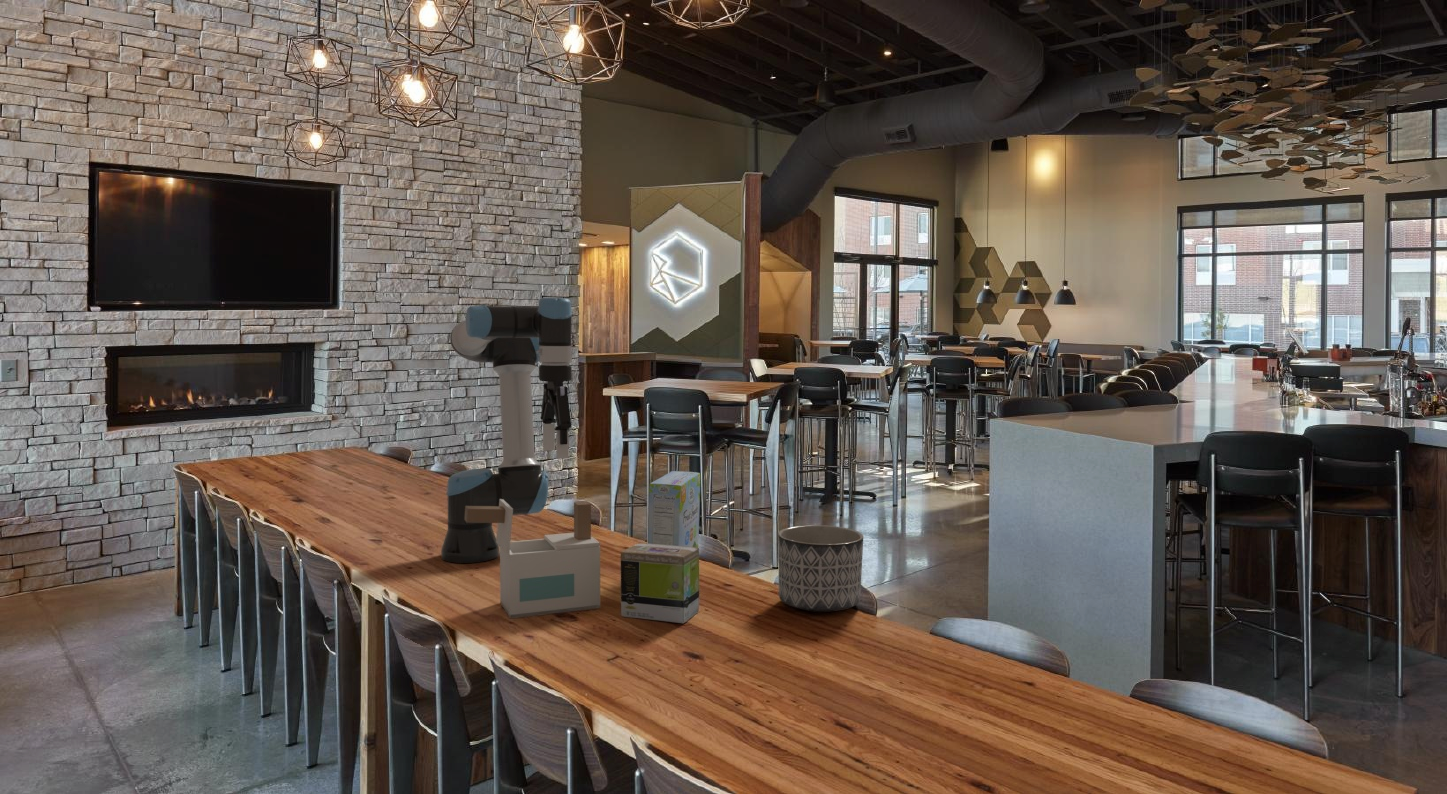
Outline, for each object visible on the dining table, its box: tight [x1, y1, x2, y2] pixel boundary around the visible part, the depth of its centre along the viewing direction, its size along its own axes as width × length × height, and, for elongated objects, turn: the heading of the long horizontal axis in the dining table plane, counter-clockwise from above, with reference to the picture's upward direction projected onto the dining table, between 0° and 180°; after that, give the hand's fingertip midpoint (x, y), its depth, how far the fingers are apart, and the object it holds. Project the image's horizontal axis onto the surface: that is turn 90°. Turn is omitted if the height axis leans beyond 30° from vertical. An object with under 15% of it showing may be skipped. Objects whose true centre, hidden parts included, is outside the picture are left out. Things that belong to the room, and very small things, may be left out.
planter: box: [777, 524, 864, 613], centre depth 213 cm, size 19×19×16 cm
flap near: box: [464, 499, 514, 554], centre depth 204 cm, size 12×10×9 cm
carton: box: [499, 500, 601, 620], centre depth 211 cm, size 12×20×23 cm, turn 114°
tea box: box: [620, 542, 700, 624], centre depth 206 cm, size 15×10×15 cm, turn 71°
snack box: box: [647, 470, 701, 548], centre depth 234 cm, size 22×9×26 cm, turn 168°
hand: (555, 454), depth 220 cm, fingers open, 13 cm apart
